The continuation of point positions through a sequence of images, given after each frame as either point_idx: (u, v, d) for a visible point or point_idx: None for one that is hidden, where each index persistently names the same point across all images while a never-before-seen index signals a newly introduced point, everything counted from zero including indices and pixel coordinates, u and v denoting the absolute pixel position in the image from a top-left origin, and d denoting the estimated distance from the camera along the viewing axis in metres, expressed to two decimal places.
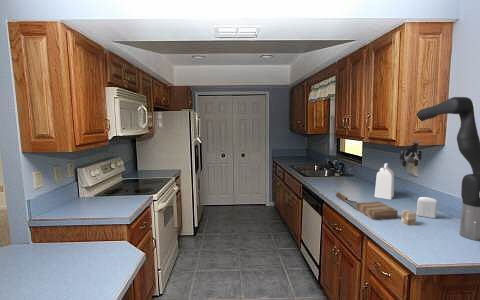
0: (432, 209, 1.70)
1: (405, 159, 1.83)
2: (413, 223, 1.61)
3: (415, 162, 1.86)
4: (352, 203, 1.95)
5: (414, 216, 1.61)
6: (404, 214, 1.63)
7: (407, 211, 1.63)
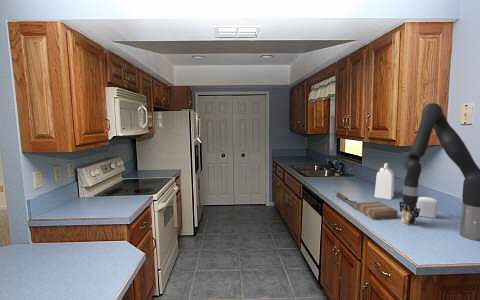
0: (432, 209, 1.70)
1: None
2: None
3: None
4: (352, 203, 1.95)
5: None
6: (404, 214, 1.63)
7: (407, 211, 1.63)
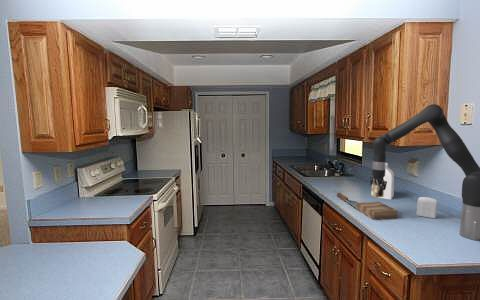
0: (432, 209, 1.70)
1: None
2: None
3: None
4: (352, 203, 1.95)
5: None
6: (373, 187, 1.77)
7: (376, 185, 1.77)
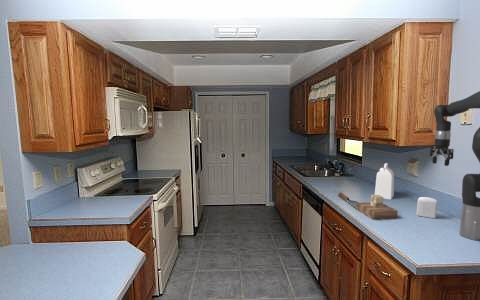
0: (432, 209, 1.70)
1: None
2: (380, 206, 1.76)
3: (435, 159, 1.73)
4: (353, 203, 1.95)
5: (381, 200, 1.75)
6: (372, 198, 1.78)
7: (375, 195, 1.78)
